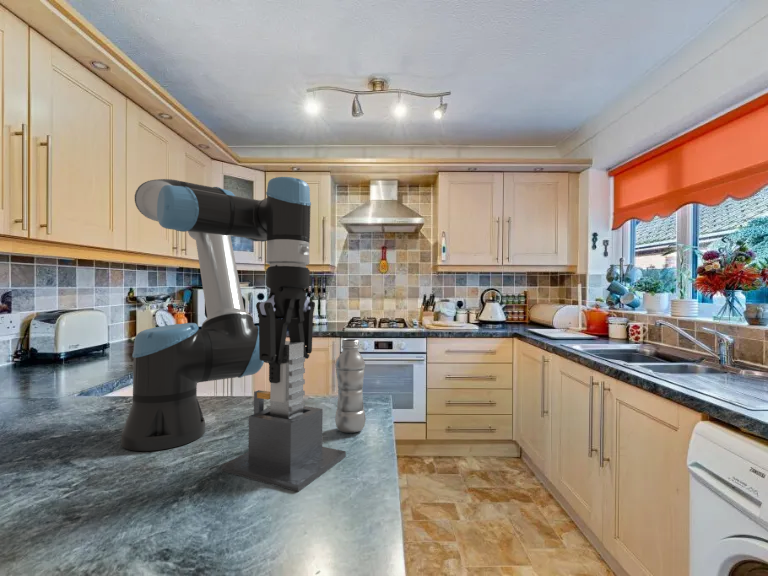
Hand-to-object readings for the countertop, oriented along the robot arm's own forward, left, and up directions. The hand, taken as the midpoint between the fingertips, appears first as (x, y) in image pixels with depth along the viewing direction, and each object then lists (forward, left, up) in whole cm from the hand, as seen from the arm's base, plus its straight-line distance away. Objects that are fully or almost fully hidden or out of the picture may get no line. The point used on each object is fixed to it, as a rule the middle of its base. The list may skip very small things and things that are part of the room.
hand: (287, 397), depth 68 cm
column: (0, 0, -10) cm, 10 cm away
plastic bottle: (+2, +19, -12) cm, 22 cm away
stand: (0, 0, -12) cm, 12 cm away
